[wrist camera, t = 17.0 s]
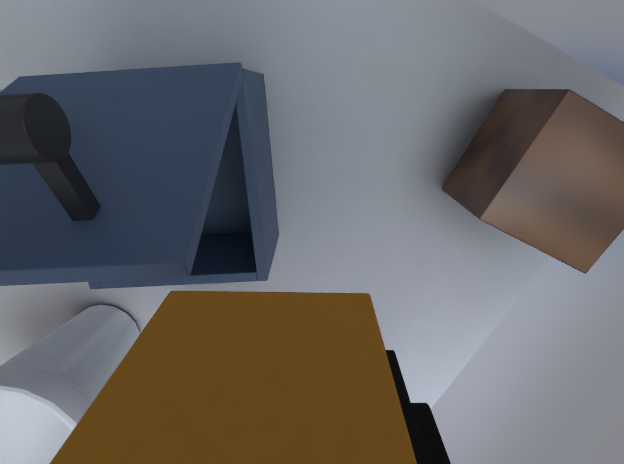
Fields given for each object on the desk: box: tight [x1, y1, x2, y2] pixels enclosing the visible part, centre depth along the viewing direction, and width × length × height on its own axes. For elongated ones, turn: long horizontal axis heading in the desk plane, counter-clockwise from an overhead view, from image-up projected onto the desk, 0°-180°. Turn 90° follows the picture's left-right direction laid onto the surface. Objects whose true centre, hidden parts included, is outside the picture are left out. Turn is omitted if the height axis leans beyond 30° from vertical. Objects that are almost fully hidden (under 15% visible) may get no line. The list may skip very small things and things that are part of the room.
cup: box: [0, 305, 139, 464], centre depth 32 cm, size 10×10×13 cm
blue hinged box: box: [88, 69, 279, 289], centre depth 28 cm, size 13×12×9 cm
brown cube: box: [442, 89, 624, 273], centre depth 28 cm, size 9×9×8 cm
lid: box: [0, 62, 243, 286], centre depth 15 cm, size 14×12×5 cm
